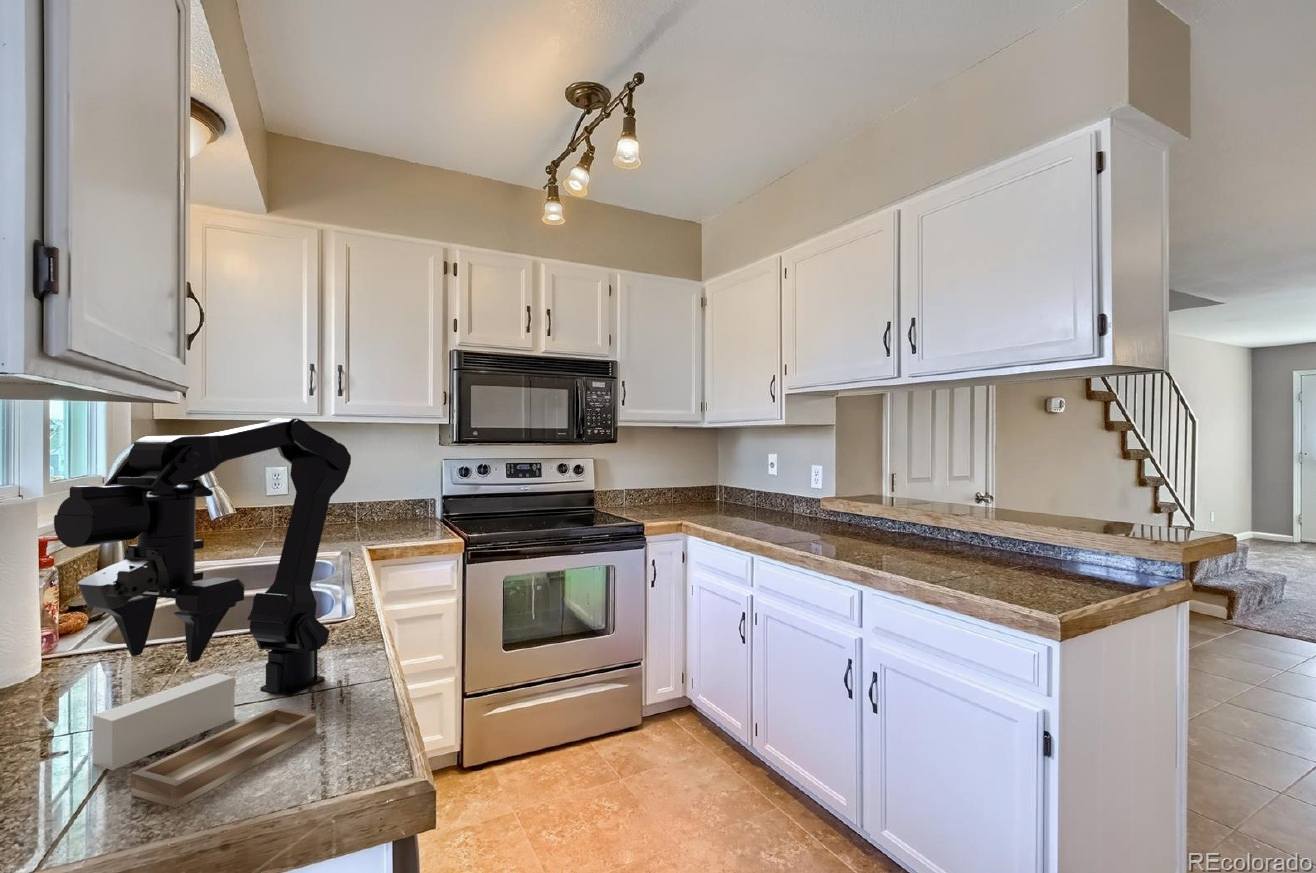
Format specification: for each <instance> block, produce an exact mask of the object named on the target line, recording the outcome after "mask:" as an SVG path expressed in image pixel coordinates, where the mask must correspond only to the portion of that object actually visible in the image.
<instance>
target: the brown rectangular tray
mask: <svg viewBox="0 0 1316 873" xmlns="http://www.w3.org/2000/svg"><path fill="white" fill-rule="evenodd" d="M316 733H317V714H315V713H310V712H306V711H300V710H294V709H291V708H285V707H280V706H274V707H273V708H270V709H268V710H266V711H263V712H262V713H261V712H260V713H259V714H257V715H254V716H252V717H250V718H249V719H246V720H244V721H241V722H240V723H237V724H235V725H233V726H231V727H229V728H226V729H225V730H222V731H220V732H218V733H216V734H214V735H211V736H209V737H207V738H205V739H202V740H201V741H198V742H195V743H194V744H192V745H190V746H187V747H185V748H184V749H180V750H179V751H176V752H175V753H172V754H170V755H169V756H165V757H164V758H162V759H159V760H157V761H155V762H153V763H150V764H148V765H146V766H144V767H142V768H139V769H138V770H135V771H133V772H131V774H130V775H131V778H130V781H131V782H130V783H131V784H130V786H131V788H130V789H131V791H130V793H131V794H130V796H134V797H137V798H140V799H144V800H146V801H150V802H152V803H153V802H154V803H157V804H160V805H164V806H167V807H171V808H174V809H177V808H179V807H182V806H183V805H185V804H186V803H187V804H188V803H190V801H192V800H195V799H196V798H198V797H200V796H202V795H203V794H205V793H207V792H210V791H211V790H213V789H215V788H216V787H218V786H220V785H222V784H224V783H226V782H227V781H230V780H231V779H233V778H235V777H237V776H238V775H240V774H242V773H245V772H246V771H248V770H249V769H251V768H253V767H255V766H257V765H259V764H261V763H263V762H264V761H266V760H268V759H271V758H272V757H274V756H276V755H278V754H279V753H281V752H283V751H285V750H288V748H291V747H292V746H294V745H296V744H298V743H300V742H301V741H303V740H305V739H307V738H309V737H311V736H313V735H315V734H316Z"/></svg>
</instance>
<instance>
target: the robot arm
mask: <svg viewBox="0 0 1316 873" xmlns="http://www.w3.org/2000/svg"><path fill="white" fill-rule="evenodd" d="M276 448H277V450H278V452H279V454H280V457H281V458H283V459H284V460H286V461H287V462H288V463H290V464H291V465H290V474H289V476H290V479H291V482H292V485H293V487H294V489H295V497H294V501H293V506H292V509H291V512H290V516H289V521H288V524H287V529H286V534H285V538H284V543H283V545H282V546H283V547H282V550H281V554H280V558H279V562H278V566H277V570H276V575H275V578H274V581H273V583H272V584H271V585H270V586H269V588H267V590H266V591H265V592H256V593H255V594H254V597H253V598H252V599H253V602H252V607H251V611H250V612H249V616H247V621H250V622H249V633H251V634H252V636H253V638H254V639H255V641H256V644H257V647H258V649H259V650H262V651H263V650H269V651H267V662H266V663H265V685H262V686H260V690H259V691H261V692H266V693H271V694H272V693H273V694H276V695H282V696H286V697H290V696H294V695H296V694H299V693H300V692H302V691H304V690H308V689H309V688H312V687H313V686H316V685H318V684H320V683H322V682H323V683H324V681H325V680H326V677H325V676H320V675H318V674H319V673H318V672H319V670H318V669H319V668H318V661H319V660H318V658H319V657H318V656H319V655H318V654H319V653H318V651H319V650H321V648H322V647H324V646H325V645H327V644H328V639H329V636H330V630H329V629H328V628H327V627H326V626H325V625H324V624H323V623H321V622H320V621H319V620H318V619H317V618H316V615H317V614H316V613H317V604H318V603H317V600H316V598H315V594H314V592H313V590H312V586H311V583H312V578H313V573H314V569H315V566H316V560H317V556H318V552H319V547H320V544H321V539H322V536H323V530H324V526H325V522H326V519H327V518H326V517H327V513H328V510H329V504H330V500H331V497H332V496H333V495H334V494H335V492H337V490H338V489H340V487H341V486H342V485H343V484H344V482H345V481H346V477H347V474H348V473H349V470H350V466H351V463H352V462H351V461H352V456H351V453H350V452H349V451H348V448H347V447H346V446H345V445H344V444H343V443H341V442H339V441H337V440H336V439H334V438H333V437H331V436H329V435H327V434H325V433H323V432H321V431H319V430H317V429H315V428H313V427H312V426H310V425H309V424H308V423H307V422H306V421H304V420H303V419H300V418H297V417H296V418H274V419H272V420H269V421H266V422H261V423H257V424H256V423H255V424H250V425H247V426H246V425H245V426H241V427H236V428H231V429H228V430H223V431H218V432H212V433H206V434H201V435H200V434H196V435H195V434H194V435H193V434H192V435H191V434H190V435H151V436H149V435H147V436H144V437H141V438H139V439H137V440H135V441H134V442H133V445H132V447H131V448H130V451H129V454H128V457H127V458H125V460H124V461H123V462H122V463H121V465H120V466H119V467H118V468H117V470H115V472H114V473H113V474H112V475H111V477H109V479H108V481H107V482H106V483H105V484H104V485H103V486H97V485H73V486H71V487H69V497H66V499H64V500H63V501H62V502H61V504H60V505H59V507H58V508H57V512H56V514H55V515H54V516H53V528H54V531H55V535H56V537H57V538H58V540H59V542H61V543H62V544H63V545H64V546H65V547H68V548H70V549H71V548H72V549H75V548H76V549H77V548H83V547H90V546H97V545H98V546H99V545H104V544H112V543H119V542H126V541H132V540H134V539H136V544H130V545H127V548H126V549H125V550H124V559H123V560H121V561H119V562H116V563H113V564H111V565H108V566H105V568H102V569H100V570H98V571H96V572H94V573H92V574H90V575H88V576H86V577H84V578H82V579H80V580H79V581H78V582H77V584H76V585H77V587H78V588H79V590H80V593H81V595H82V597H83V600H84V602H85V603H86V607H87V608H95V609H97V610H101V611H102V612H104V613H106V614H108V615H110V616H111V617H112V618H113V619H114V622H115V623H116V625H117V627H118V629H119V631H120V634H121V636H122V639H123V640H124V643H125V646H126V647H127V650H128V651H129V654H130V657H138V656H140V655H142V654H143V652H144V649H145V645H146V643H147V641H148V636H149V632H150V629H151V625H152V621H153V618H154V614H155V610H156V607H157V603H158V599H159V598H163V599H164V598H165V599H174V600H175V601H174V602H175V605H176V606H177V608H178V609H179V610H178V611H176V612H173V614H174V615H175V617H177V618H178V619H180V620H181V621H182V622H183V623H184V630H185V646H186V647H185V648H186V656H187V662H188V663H190V664H193V663H196V662H198V661H200V659H201V657H202V655H203V653H204V652H205V650H206V648H207V646H208V644H209V642H210V640H211V639H212V638H213V635H214V633H215V632H216V630H217V628H218V627H219V625H220V624H221V622H222V620H223V619H224V617H225V616H226V614H227V613H228V612H229V610H230V609H231V608H235V607H236V605H237V603H238V602H241V601H245V583H244V582H243V581H241V580H240V579H239V578H232V577H229V578H228V577H218V576H217V577H212V578H209V579H204V571H198V570H195V569H196V566H195V565H196V562H195V561H196V550H198V549H199V550H200V549H204V543H205V540H204V539H196V519H197V518H196V516H197V515H196V512H197V510H196V508H197V507H196V506H197V503H196V502H197V498H202V497H203V498H204V497H212V495H213V494H214V491H212V490H211V489H210V488H209V487H207V486H205V484H203V483H202V482H201V481H200V479H199V478H200V477H203V476H205V475H207V474H209V473H211V472H213V471H215V469H217V468H218V467H219V466H220V465H221V464H223V463H226V462H228V461H230V460H235V459H238V458H241V457H246V456H250V455H254V454H259V453H263V452H265V451H269V450H270V451H271V450H273V449H276ZM148 492H149V493H148Z"/></svg>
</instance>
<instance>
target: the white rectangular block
mask: <svg viewBox="0 0 1316 873" xmlns="http://www.w3.org/2000/svg"><path fill="white" fill-rule="evenodd" d="M235 679H236V678H235V676H232V675H227V674H222V673H218V672H215V673H212V674H208V675H206V676H203V677H199V678H197V679H194V680H191V681H188V682H185V683H183V684H180V685H179V684H178V685H177V686H173V687H171V688H167V689H166V690H163V691H159V692H156V693H153V694H150V695H148V696H147V695H146V696H145V697H142V698H139V699H135V700H133V701H131V702H127V703H124V704H122V705H118V706H115V707H112V708H110V709H107V710H103V711H101V712H98V713H95V714H93V715H92V765H96V766H99V767H101V768H105V769H106V770H110V771H114V770H117V769H119V768H122V767H123V766H127V765H128V764H130V763H133V762H136V761H138V760H140V759H142V758H145V757H147V756H150V755H152V754H155V753H157V752H159V751H162V750H164V749H167V748H169V747H171V746H174V745H176V744H178V743H181V742H183V741H185V740H187V739H190V738H193V737H195V736H197V735H199V734H201V733H204V732H206V731H209V730H212V729H213V728H216V727H218V726H220V725H223V724H225V723H227V722H230V721H233V720H235V696H236V695H235V691H236V690H235V689H236V688H235V683H236V682H235Z"/></svg>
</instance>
